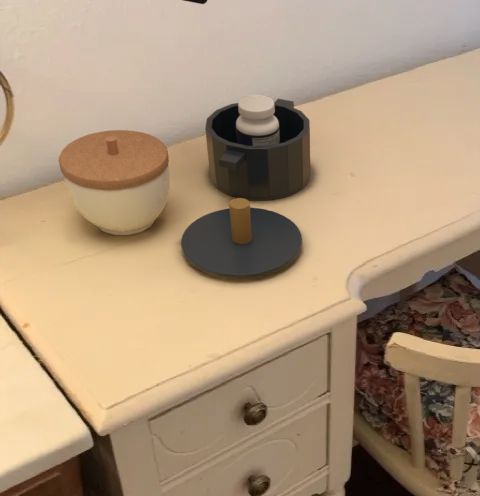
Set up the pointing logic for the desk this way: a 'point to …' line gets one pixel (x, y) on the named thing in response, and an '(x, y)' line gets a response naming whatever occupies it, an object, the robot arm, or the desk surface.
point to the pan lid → (241, 241)
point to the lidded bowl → (117, 179)
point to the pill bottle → (257, 121)
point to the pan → (259, 155)
